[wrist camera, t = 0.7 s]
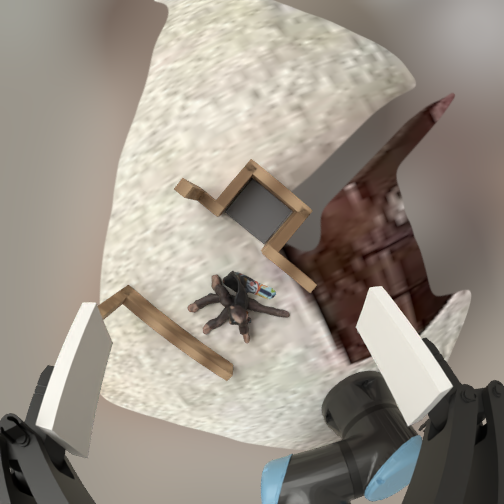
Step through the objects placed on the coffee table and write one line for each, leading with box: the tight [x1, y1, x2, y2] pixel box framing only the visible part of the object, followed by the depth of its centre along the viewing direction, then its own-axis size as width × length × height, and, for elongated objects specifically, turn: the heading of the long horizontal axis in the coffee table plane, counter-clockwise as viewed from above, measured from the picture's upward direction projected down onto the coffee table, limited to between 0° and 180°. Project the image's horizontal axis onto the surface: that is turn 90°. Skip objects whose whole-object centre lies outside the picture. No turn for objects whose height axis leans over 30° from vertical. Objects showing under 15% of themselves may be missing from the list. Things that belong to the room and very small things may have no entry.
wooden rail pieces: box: [98, 159, 317, 381], centre depth 35 cm, size 22×28×12 cm
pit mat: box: [225, 179, 291, 244], centre depth 40 cm, size 7×6×1 cm
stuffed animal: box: [188, 271, 289, 343], centre depth 42 cm, size 12×10×12 cm
